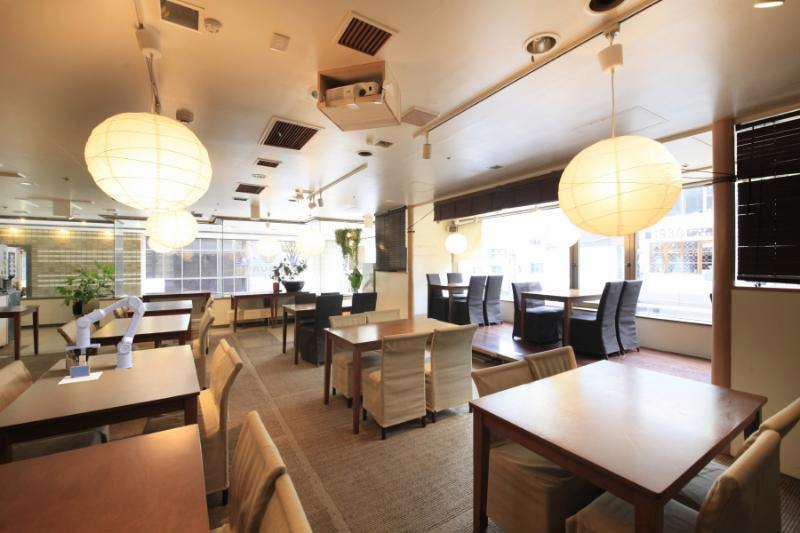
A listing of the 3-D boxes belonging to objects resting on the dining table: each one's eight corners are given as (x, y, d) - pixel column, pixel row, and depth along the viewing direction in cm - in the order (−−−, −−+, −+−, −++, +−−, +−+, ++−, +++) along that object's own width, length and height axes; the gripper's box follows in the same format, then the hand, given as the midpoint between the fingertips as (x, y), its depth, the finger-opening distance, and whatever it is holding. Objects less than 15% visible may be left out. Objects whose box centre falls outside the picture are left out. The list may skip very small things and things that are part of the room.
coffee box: (88, 369, 203) (88, 342, 202) (76, 372, 197) (76, 345, 196) (77, 367, 205) (77, 341, 205) (64, 370, 199) (64, 344, 198)
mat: (65, 377, 189) (65, 376, 189) (103, 372, 197) (103, 371, 197) (57, 385, 177) (57, 384, 177) (97, 379, 186) (97, 379, 186)
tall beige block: (82, 366, 197) (82, 353, 196) (87, 366, 198) (87, 352, 198) (79, 369, 191) (79, 355, 191) (85, 369, 193) (85, 355, 193)
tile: (70, 377, 187) (70, 366, 187) (90, 374, 192) (90, 364, 191) (70, 378, 186) (70, 367, 186) (89, 375, 190) (89, 365, 190)
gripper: (63, 340, 187) (63, 365, 187) (98, 337, 194) (98, 361, 195) (67, 338, 193) (67, 361, 193) (100, 335, 200) (101, 358, 201)
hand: (83, 361), depth 194 cm, fingers closed on tall beige block, 2 cm apart
